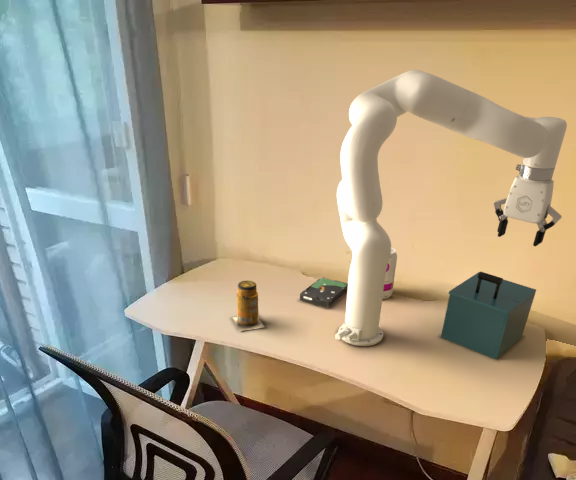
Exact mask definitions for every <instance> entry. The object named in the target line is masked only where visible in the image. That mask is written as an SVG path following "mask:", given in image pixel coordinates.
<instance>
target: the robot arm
mask: <svg viewBox="0 0 576 480" xmlns="http://www.w3.org/2000/svg"><path fill="white" fill-rule="evenodd" d="M406 113H410V114H411V115H413V116H416V117H418V118H419V119H423V120H425V121H428V122H431V123H432V124H435V125H438V126H441V127H443V128H445V129H448V130H450V131H452V132H455V133H457V134H459V135H462V136H464V137H467V138H470V139H473V140H476V141H478V142H479V141H480V142H483V143H485V144H488V145H491V146H493V147H495V148H498V149H500V150H503V151H505V152H507V153H510V154H513V155H515V156H517V157H520V158H523V161H522V163H521V164H516V166H515V170H516V171H518V172H519V173H518V174H517V175H516V176H515V177H514V179H513V181H512V184H511V185H510V189H509V191H508V195H507V197H505V198H501V199H499V200H498V199H497V200H495V201H494V202H493V206H494V210H495V211H494V213H495V215H496V217H497V218H498V219H497V220H498V226H497V237H499V238H501V237H502V236H504V235H505V234H506V231H507V227H508V224H509V219H514V220H517V221H522V222H525V223H529V224H536V225H537V227H538V230H537V231H536V233H535V237H534V240H533V244H532V246H533V247H537V246H539V245H540V244H543V241H544V238H545V234H546V231H547V230H549V229H551V228H552V227H554V226H556V224H557V223H558V222H559V221H560V220H561V219H562V218H563V217H562V215H561V213H559V212H558V211H557V210H556V209H555V208H553V207H552V206H551V204H552V199H553V194H554V183H555V181H554V180H553V177H554V172H555V170H556V165H557V162H558V158H559V155H560V152H561V149H562V145H563V142H564V137H565V135H566V132H567V127H568V124H567V123H568V122H567V121H566V120H565V119H563V118H560V117H555V116H540V117H529V116H523V115H522V114H519V113H518V112H514V111H512V110H510V109H508V108H506V107H504V106H501V105H499V104H497V103H495V102H494V101H492V100H491V99H489V98H486V97H485V96H482V95H481V94H479V93H476V92H474V91H472V90H469V89H467V88H464V87H462V86H459V85H457V84H455V83H453V82H450V81H448V80H446V79H444V78H442V77H439V76H437V75H435V74H432V73H430V72H425V71H424V70H423V71H422V70H420V69H411V70H408V71H405V72H403V73H401V74H398V75H396V76H394V77H392V78H390V79H388V80H385V81H384V82H382V83H379V84H378V85H375V86H373V87H371V88H369V89H367V90H365V91H363V92H361V93H360V94H358V95H357V96H356V97H355V98H354V99H353V101H352V102H351V104H350V106H349V110H348V119H349V123H351V127H350V128H349V130H348V131H347V132H346V135H345V137H344V139H343V141H342V144H341V148H340V154H339V159H340V160H339V161H340V171H341V180H340V181H339V183H338V186H337V189H336V202H337V209H338V213H339V214H338V215H339V219H340V225H341V230H342V234H343V238H344V240H345V242H346V244H347V246H349V249H350V251H351V254H352V258H351V262H350V265H349V271H348V279H347V283H348V290H347V293H346V304H345V316H344V323H343V324H341V326H339V328H338V332H336V333H335V334H334V338H335V340H337V341H340V340H342V341H343V342H345V343H346V344H349V345H353V346H358V347H369V346H374V345H377V344H379V343H380V342H381V341H382V340H383V339H384V331H383V329H382V328H381V326H380V320H381V312H382V305H383V299H382V297H383V289H384V280H385V274H386V269H387V265H388V261H389V258H390V254H391V247H392V241H391V238H390V236H389V234H388V233H387V231H386V229H385V228H383V226H382V225H381V224H380V223H379V222H378V220H377V219H378V218H379V216H380V215H381V212H382V209H383V194H382V189H381V182H380V175H379V161H378V160H379V157H378V156H379V152H380V149H381V148H382V146H383V144H384V143H385V141H386V140H388V139H389V137H390V136H391V135H392V134H393V133H394V131H395V128H396V125H397V122H398V118H399V117H400V116H402V115H404V114H406ZM502 205H504V207H503V209H502ZM548 215H549V216H550V217H551V218H552V219H551V220H550V221H549V222H547V220H546V219H547V217H548ZM508 218H509V219H508Z"/></svg>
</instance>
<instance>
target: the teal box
mask: <svg viewBox="0 0 576 480" xmlns="http://www.w3.org/2000/svg"><path fill="white" fill-rule="evenodd" d="M536 293H537V291H536V292H535V293H534V294H533V295H531V296H530V297H529V298H528V299H527V300H525V301H524V302H523V303H522V304H520V305H519V306H518V307H517V308H515V309H514V310H513V311H512V312H510V313H509V314H505V313H502V312H500V311H497V310H494V309H491V308H488V307H485V306H482V305H479V304H476V303H474V302H471V301H468V300H465V299H462V298H459V297H456V296H453V295H450V294H449V296H448V300H447V305H446V311H445V316H444V319H443V326H442V329H441V335H440V338H441V339H443V340H446V341H449V342H451V343H453V344H454V343H455V344H456V345H459V346H462V347H464V348H467V349H469V350H471V351H474V352H476V353H479V354H481V355H483V356H486V357H489V358H492V359H494V360H498V359H499V358H500V357H501V356H502V355H503V354H505V352H507V351H508V350H509V349H510V348H511V347H512V346H514V345H515V344H516V342H518V341H519V340H520V339H521V338H522V337H523V335H524V331H525V329H526V325H527V321H528V318H529V315H530V312H531V309H532V306H533V302H534V300H535V295H536Z"/></svg>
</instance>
